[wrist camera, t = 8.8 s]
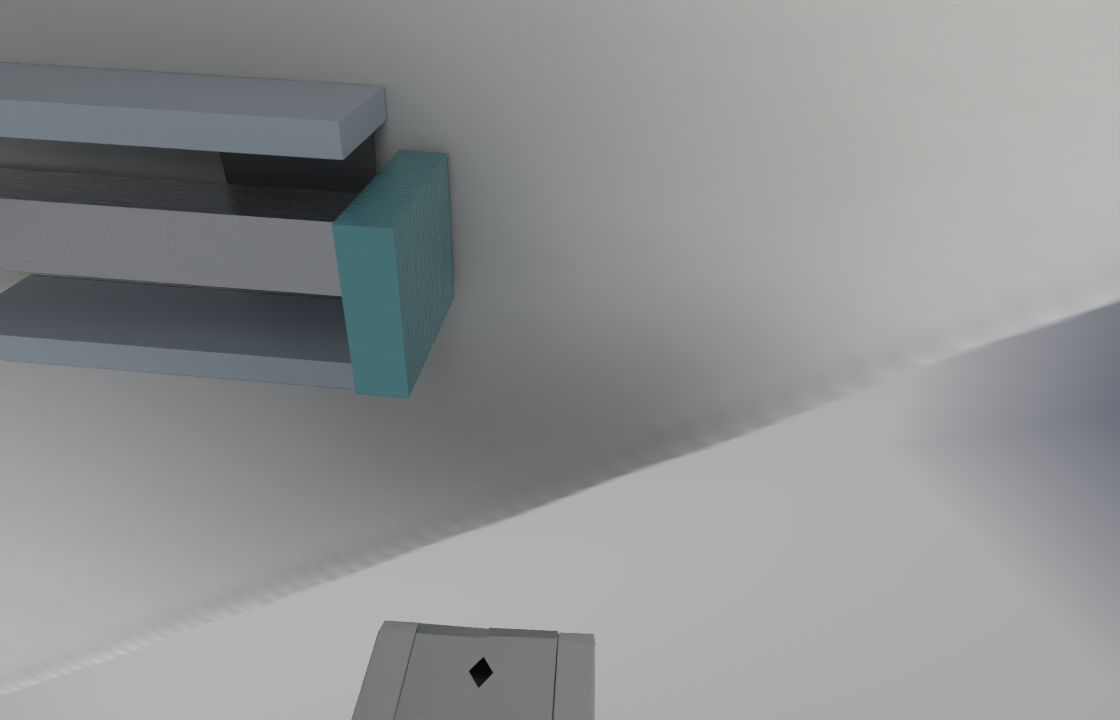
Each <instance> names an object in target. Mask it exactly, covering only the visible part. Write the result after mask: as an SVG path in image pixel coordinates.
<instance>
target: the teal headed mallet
mask: <svg viewBox="0 0 1120 720" xmlns="http://www.w3.org/2000/svg"><path fill="white" fill-rule="evenodd" d="M0 270H7V271H20V272H33V273H46V274H59V275H72V276H85V277H98V278H111V279H124V280H137V281H150V282H163V283H176V284H189V285H202V286H215V287H228V288H241V289H254V290H267V291H280V292H293V293H306V294H319V295H332V296H342V301H343V308H344V315H345V323H346V330H347V337H348V344H349V351H350V358H351V365H352V372H353V379H354V386H355V393H357V394H369V395H381V396H393V397H405V398H409V396H410V394H411V392H412V389H413V387H414V385H415V383H416V380H417V378H418V376H419V374H420V371H421V369H422V367H423V365H424V362H425V360H426V358H427V356H428V353H429V351H430V349H431V347H432V344H433V342H434V340H435V338H436V335H437V333H438V331H439V329H440V326H441V324H442V322H443V320H444V317H445V315H446V313H447V311H448V308H449V306H450V304H451V302H452V299H453V297H454V289H453V267H452V246H451V224H450V202H449V180H448V159H447V153H439V152H424V151H409V150H399V151H398V152H397V153H396V154H395V155H394V156H393V157H392V159H391V160H390V161H389V162H388V163H387V164H386V165H385V166H384V167H383V168H382V170H381V171H380V172H379V173H378V174H377V175H376V176H375V177H374V178H373V179H372V181H371V182H370V183H369V184H368V185H367V186H366V187H365V188H364V189H363V190H362V192H361V193H350V192H336V191H321V190H307V189H293V188H278V187H264V186H249V185H235V184H221V183H206V182H192V181H178V180H163V179H149V178H135V177H120V176H106V175H91V174H77V173H63V172H48V171H34V170H20V169H5V168H0Z"/></svg>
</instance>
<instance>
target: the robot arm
mask: <svg viewBox="0 0 1120 720" xmlns="http://www.w3.org/2000/svg"><path fill="white" fill-rule="evenodd" d="M557 641H558V646H557ZM594 702H595V639H594V634H578V633H559V634H558V631H544V630H523V629H502V628H489V629H485V628H472V627H460V626H447V625H435V624H422V623H414V622H398V621H384V623H383V625H382V627H381V628H380V630H379V632H378V635H377V638H376V642H375V645H374V648H373V651H372V654H371V658H370V661H369V664H368V667H367V671H366V674H365V677H364V680H363V684H362V687H361V690H360V693H359V697H358V700H357V703H356V707H355V710H354V713H353V716H352V720H594V704H595V703H594Z"/></svg>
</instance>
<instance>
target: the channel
mask: <svg viewBox="0 0 1120 720" xmlns="http://www.w3.org/2000/svg"><path fill="white" fill-rule="evenodd" d="M386 120H387V119H386V107H385V96H384V86H371V85H355V84H339V83H322V82H306V81H290V80H274V79H258V78H242V77H226V76H210V75H193V74H177V73H161V72H145V71H129V70H113V69H97V68H81V67H64V66H48V65H32V64H16V63H0V137H10V138H25V139H40V140H55V141H69V142H84V143H99V144H114V145H129V146H144V147H158V148H173V149H188V150H203V151H218V152H220V153H221V158H222V162H223V167H224V171H225V176H226V180H227V184H235V185H249V186H264V187H278V188H293V189H307V190H321V191H336V192H350V193H361V192H362V190H363V189H364V188H365V187H366V186H367V185H368V184H369V183H370V182H371V181H372V179H373V178H374V177H375V176H376V165H375V155H374V146H373V136H372V133H373V132H374V131H375V130H376V129H377V128H378V127H380V126H381V125H382V124H383V123H384V122H385V121H386ZM0 360H6V361H18V362H30V363H42V364H54V365H66V366H78V367H90V368H101V369H113V370H125V371H137V372H149V373H161V374H173V375H185V376H197V377H209V378H221V379H233V380H245V381H257V382H269V383H281V384H293V385H305V386H317V387H329V388H341V389H353V390H355V386H354V379H353V372H352V365H351V358H350V351H349V344H348V337H347V330H346V323H345V315H344V308H343V301H342V299H330V298H317V297H304V296H291V295H278V294H265V293H252V292H239V291H227V290H214V289H201V288H188V287H175V286H162V285H149V284H136V283H123V282H110V281H97V280H84V279H71V278H58V277H45V276H32V275H29V276H28V277H26V278H25V279H23V280H22V281H20V282H18V283H17V284H15V285H14V286H12V287H10V288H9V289H7V290H6V291H4V292H3V293H1V294H0Z"/></svg>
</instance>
